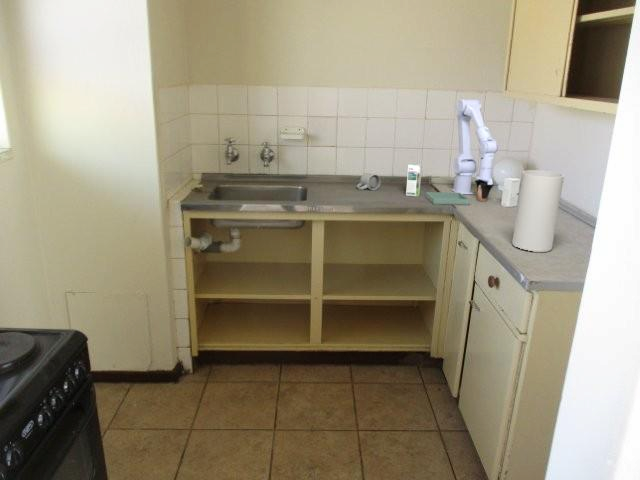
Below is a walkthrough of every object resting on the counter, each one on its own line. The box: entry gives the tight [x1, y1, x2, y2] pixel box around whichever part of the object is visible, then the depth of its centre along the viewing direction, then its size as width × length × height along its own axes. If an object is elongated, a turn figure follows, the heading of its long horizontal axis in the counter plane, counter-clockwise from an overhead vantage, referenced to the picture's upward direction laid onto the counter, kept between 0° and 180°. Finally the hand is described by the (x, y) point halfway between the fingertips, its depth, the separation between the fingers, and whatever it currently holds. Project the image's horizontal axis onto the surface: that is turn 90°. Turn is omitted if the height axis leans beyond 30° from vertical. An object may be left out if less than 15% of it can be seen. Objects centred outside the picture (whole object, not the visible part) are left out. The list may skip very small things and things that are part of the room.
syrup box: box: [405, 163, 423, 197], centre depth 246 cm, size 6×6×14 cm
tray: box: [425, 191, 471, 206], centre depth 237 cm, size 14×16×2 cm
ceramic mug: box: [356, 173, 381, 191], centre depth 258 cm, size 11×8×8 cm
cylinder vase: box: [511, 169, 565, 253], centre depth 173 cm, size 12×12×25 cm
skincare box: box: [500, 177, 521, 208], centre depth 231 cm, size 6×4×12 cm
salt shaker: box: [476, 185, 489, 203], centre depth 240 cm, size 5×5×7 cm
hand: (482, 197), depth 240 cm, fingers closed on salt shaker, 5 cm apart
